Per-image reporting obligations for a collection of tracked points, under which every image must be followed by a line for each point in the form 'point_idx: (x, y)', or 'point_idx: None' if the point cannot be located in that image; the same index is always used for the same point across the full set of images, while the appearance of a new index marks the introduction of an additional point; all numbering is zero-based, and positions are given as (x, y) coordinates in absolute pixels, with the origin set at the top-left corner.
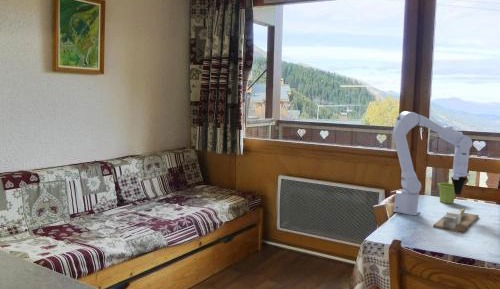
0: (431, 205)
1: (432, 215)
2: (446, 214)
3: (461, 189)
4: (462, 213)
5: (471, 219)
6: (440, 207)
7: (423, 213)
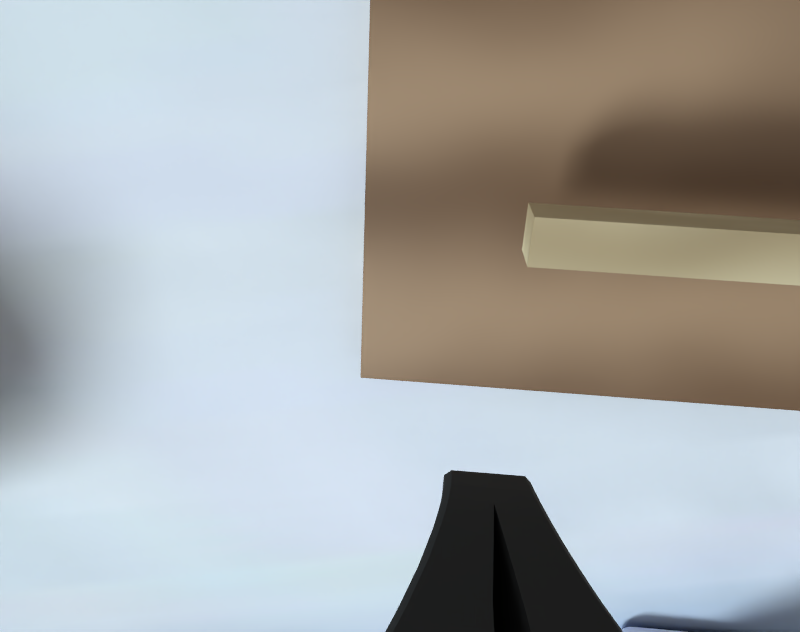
0: (164, 577)
1: (681, 513)
2: (664, 399)
3: (568, 567)
4: (704, 214)
5: (795, 36)
6: (176, 494)
7: (640, 593)
